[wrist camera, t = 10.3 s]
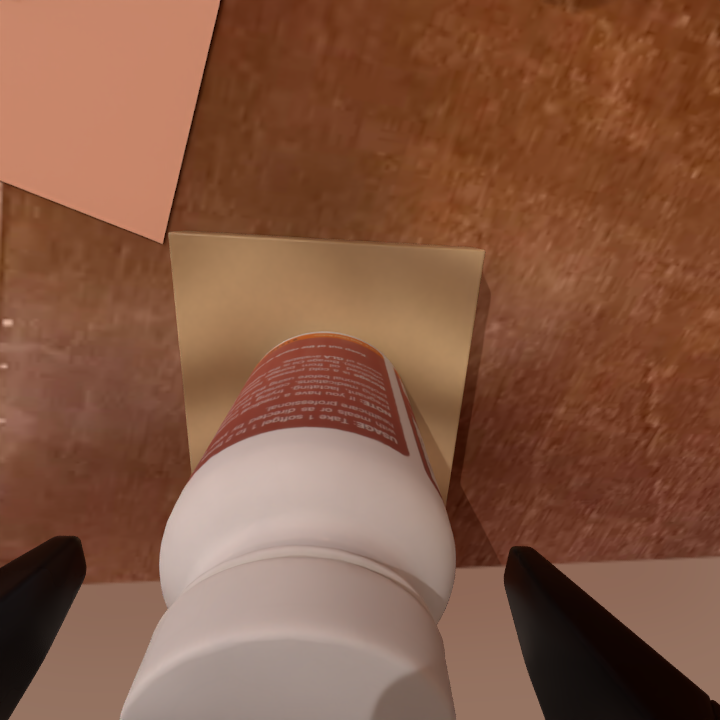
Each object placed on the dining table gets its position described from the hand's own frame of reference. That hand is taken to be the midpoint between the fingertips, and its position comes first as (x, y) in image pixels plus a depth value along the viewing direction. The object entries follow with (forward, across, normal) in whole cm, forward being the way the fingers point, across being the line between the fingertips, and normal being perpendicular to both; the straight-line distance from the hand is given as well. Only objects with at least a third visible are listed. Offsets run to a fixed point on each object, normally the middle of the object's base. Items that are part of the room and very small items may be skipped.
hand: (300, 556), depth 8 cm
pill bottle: (+8, 0, 0) cm, 8 cm away
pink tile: (+10, +11, -15) cm, 21 cm away
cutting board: (+9, 0, 0) cm, 9 cm away
